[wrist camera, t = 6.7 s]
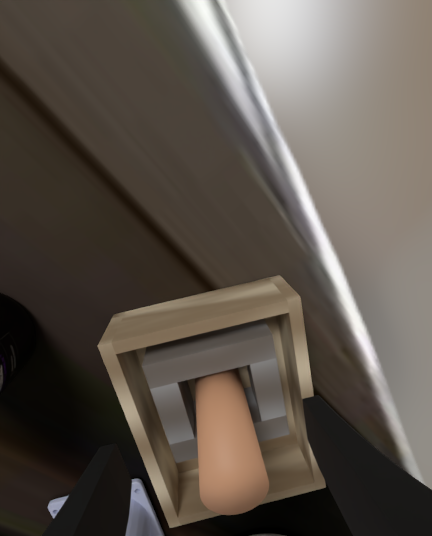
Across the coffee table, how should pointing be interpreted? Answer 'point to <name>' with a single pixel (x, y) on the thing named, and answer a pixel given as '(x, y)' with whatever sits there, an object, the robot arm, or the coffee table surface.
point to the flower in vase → (267, 535)
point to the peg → (227, 446)
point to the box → (209, 362)
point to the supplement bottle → (14, 340)
